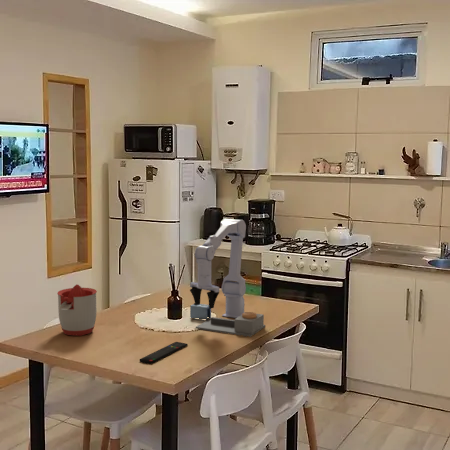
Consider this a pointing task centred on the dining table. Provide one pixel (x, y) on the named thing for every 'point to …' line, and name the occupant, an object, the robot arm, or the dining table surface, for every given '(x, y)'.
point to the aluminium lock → (200, 311)
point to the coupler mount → (236, 324)
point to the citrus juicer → (77, 310)
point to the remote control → (163, 352)
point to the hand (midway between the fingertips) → (204, 306)
